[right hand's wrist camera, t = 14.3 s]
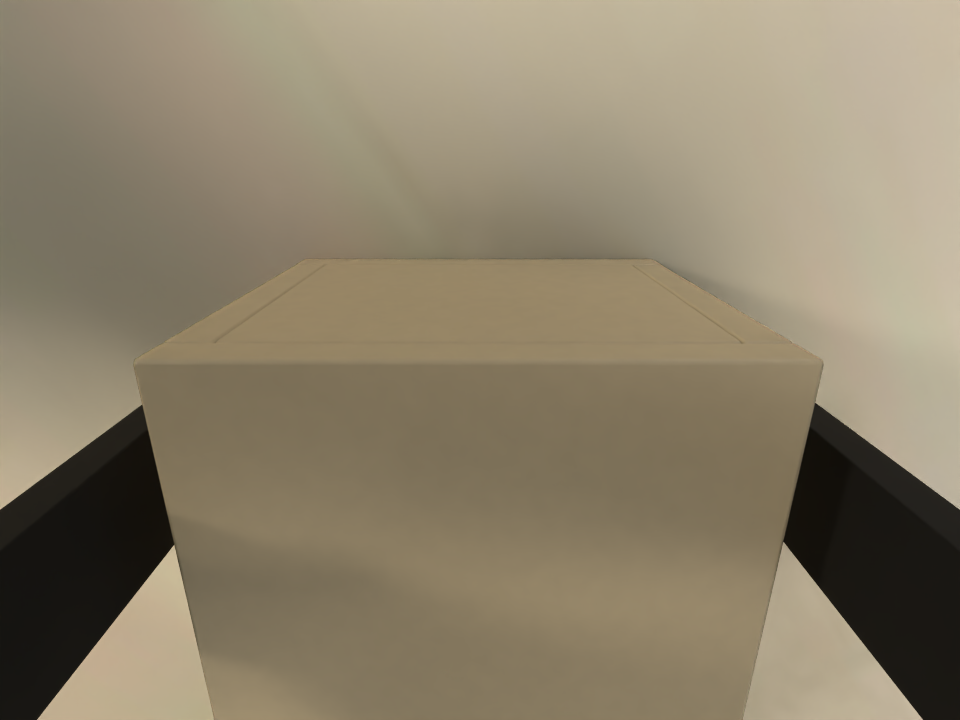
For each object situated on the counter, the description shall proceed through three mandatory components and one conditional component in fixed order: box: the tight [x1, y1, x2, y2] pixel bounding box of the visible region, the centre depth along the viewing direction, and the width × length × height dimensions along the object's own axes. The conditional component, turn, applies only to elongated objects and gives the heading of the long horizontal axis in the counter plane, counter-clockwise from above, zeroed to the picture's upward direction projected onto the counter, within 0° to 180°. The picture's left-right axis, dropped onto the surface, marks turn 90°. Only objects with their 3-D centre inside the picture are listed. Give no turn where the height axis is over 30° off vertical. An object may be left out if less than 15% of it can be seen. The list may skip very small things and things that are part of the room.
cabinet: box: [133, 259, 823, 720], centre depth 15 cm, size 20×10×9 cm, turn 0°
